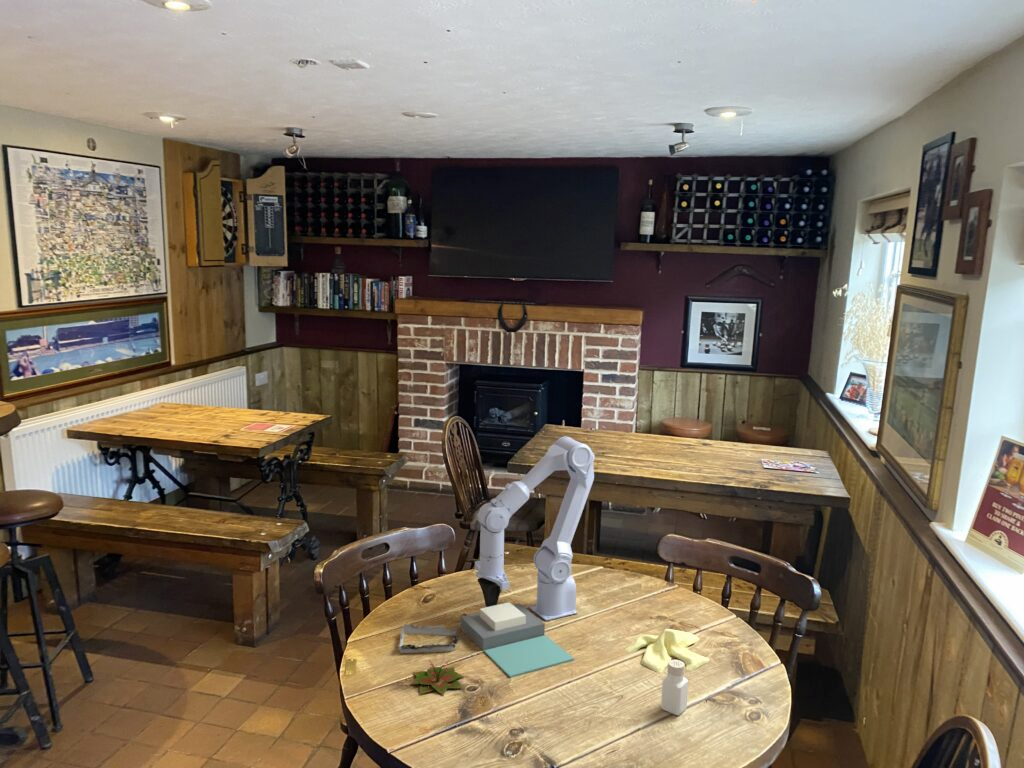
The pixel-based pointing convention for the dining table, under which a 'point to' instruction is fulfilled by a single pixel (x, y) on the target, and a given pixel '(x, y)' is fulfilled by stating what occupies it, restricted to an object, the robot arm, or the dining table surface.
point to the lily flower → (437, 679)
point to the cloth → (668, 649)
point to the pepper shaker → (675, 688)
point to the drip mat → (528, 656)
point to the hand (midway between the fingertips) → (491, 607)
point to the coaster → (502, 616)
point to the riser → (492, 638)
